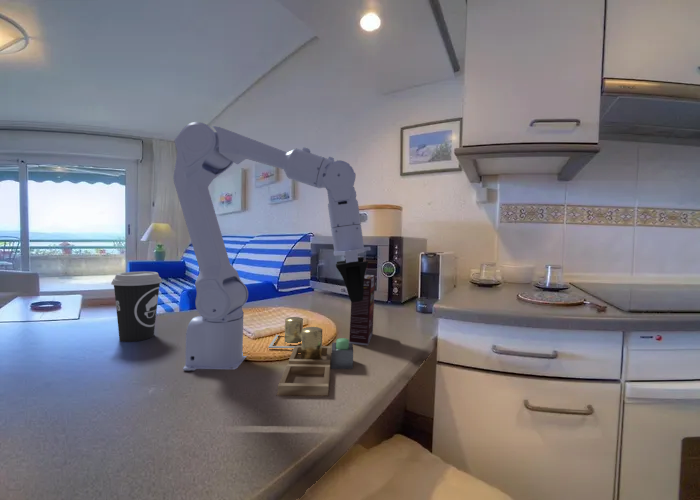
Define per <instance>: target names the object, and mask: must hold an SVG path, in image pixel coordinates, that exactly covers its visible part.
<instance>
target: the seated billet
mask: <svg viewBox="0 0 700 500" xmlns="http://www.w3.org/2000/svg"><path fill="white" fill-rule="evenodd" d="M300 346H301V359H315V360H322V346H323V328H321V327H318V326H307V327H303V329H302V344H300Z"/></svg>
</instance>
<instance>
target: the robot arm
mask: <svg viewBox="0 0 700 500" xmlns="http://www.w3.org/2000/svg"><path fill="white" fill-rule="evenodd" d="M211 127H212V128H211ZM211 127H210V126H209V125H208V124H206V123H204V122H200V121H194V122H193V121H192V122H190V123H188V124H186V125H185V126H183V128H182V130H180V132H179V134H177V136H176V138H174V145H175V149H176V158H175V159H176V160H175V166H174V171H173V183H174V186H175V190H176V194H177V197H178V200H179V205H180V207H181V210H182V213H183V216H184V221H185V224H186V227H187V232H188V235H189V238H190V241H191V244H192V248H193V251H194V254H195V255H194V256H195V258H196V262H197V264H198V269H199V273H198V275H197V278H196V280H195V281H194V282H195V283H194V285H195V286H194V287H195V291H196V295H195V296H196V297H195V302H194V303H195V308H196V311H197V313H198V314H199V315H197V316H196V315H195V316H194V317H192V319H190V321H189V323H188V325H187V328H186V333H185V365H184V366H183V368H182V370H183V371H196V370H197V369H198V370H237V369H238V368H239V367H240V366H241V364H242V363H243V362H244V360H245V359H246V358H247V357H248V355H247V356H243V352H244V350H243V346H244V345H243V344H244V343H243V340H244V311H243V306H244V305H245V304H246V303H247V301H248V299H249V290H248V287H247V286H246V285H245V283H244V282H243V281H242V280H241V278H240V276H239V272H238V270H237V269H235V267H234V266H233V265H232V264H231V263H230V259H229V255H228V253H227V249H226V246H225V242H224V239H223V235H222V231H221V227H220V225H219V222H218V218H217V213H216V211H215V208H214V205H213V201H212V197H211V194H210V190H209V187H210V185H211V184H212V183H213V181H214V180H215V179H216V178H217V177H219V176H220V175H222V174H223V173H224V172H226V171H227V170H229V169H230V168H231V167H232V166H233V164H235V165H240V164H241V163H242V162H244V161H245V160H249V161H252V162H256V163H260V164H263V165H266V166H270V167H273V168H277V169H281V170H283V171H284V173H285V176H286V177H287V178H288V179H290V180H292V181H296V182H298V183H302V184H305V185H308V186H310V187H314V188H316V189H325V190H326V191H327V200H328V204H327V207H328V208H327V209H328V216H329V223H330V228H331V229H330V231H331V236H332V245H333V250H334V251H333V256H334V257H344V260H340V261H339V260H338V261H336V264H335V268H336V269H337V271H338V272H339V274H340V275H341V277H342V280H343V282H344V284H345V288H346V291H347V294H348V297H349V300H350V303H351V302H358V301H363V294H364V276H365V275H366V272H367V268H368V264H369V261H368V260H366V261H364V259H365V258H364V257H363V256H360V257H358V255H359V254H362V253H366V252H367V251H368V252H370V251H372V249H371V246H365V245H364V244H365V243H364V239H363V230H362V225H361V224H362V223H361V216H360V208H359V202H358V201H359V200H358V199H357V191H356V190H355V189H356V188H355V181H356V172H355V171H354V168H353V167H352V166H351V165H350V163H349V162H346V161H344V160H338V159H337V160H336V161H335V158H334V157H333V156H332V157H331V156H328V157H323V156H322V155H318V154H316V153H312V152H311V149H310V148H308V147H305V146H304V147H302V149H299V148H294V149H293V148H292V150H289V151H284V150H282V149H279V148H276V147H273V146H271V145H269V144H266V143H263V142H260V141H258V140H255V139H252V138H250V137H248V136H245V135H243V134H239V133H237V132H234V131H232V130H228V129H226V128H223V127H221V126H217V125H212V126H211ZM213 129H214V130H215V131H214V130H213Z"/></svg>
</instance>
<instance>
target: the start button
mask: <svg viewBox="0 0 700 500" xmlns="http://www.w3.org/2000/svg"><path fill="white" fill-rule="evenodd" d="M335 343H336V349H349V339H348V338H345V337H342V338H341V337H340V338H337V339H336V341H335Z"/></svg>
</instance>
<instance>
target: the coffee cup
mask: <svg viewBox="0 0 700 500" xmlns="http://www.w3.org/2000/svg"><path fill="white" fill-rule="evenodd" d="M161 283H163V280H162V277H160V275H159V273H158V272H156V271H127V272H119V273H118V272H117V273H116V274H115V277H114V278H113V279H112V281H111V285H112V286H113V291H114V298H115V306H116V309H115V310H116V318H117V327H118V328H117V330H118V336H119V337H118V338H119V341H120V342H123V343H133V342H140V341H145V340H148V339H151V338H153V337H154V336H155V330H156V329H155V327H156V319H157V311H158V310H157V309H158V303H159V301H158V300H159V292H160V287H161V286H160V285H161Z"/></svg>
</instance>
